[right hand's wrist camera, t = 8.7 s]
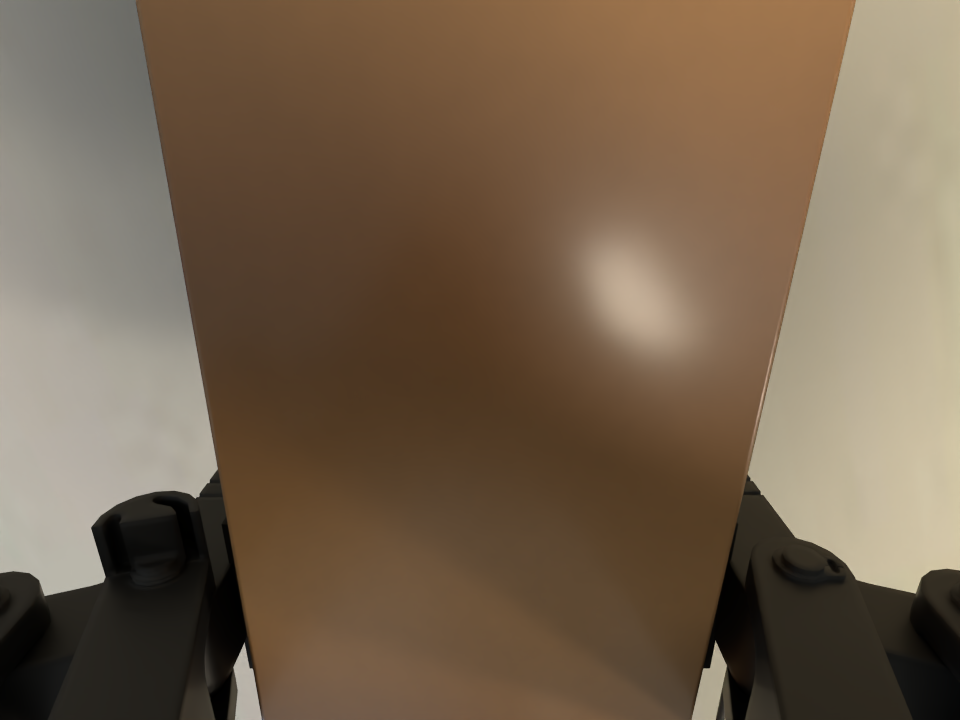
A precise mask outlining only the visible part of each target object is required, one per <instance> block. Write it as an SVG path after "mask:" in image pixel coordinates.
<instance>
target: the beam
mask: <svg viewBox="0 0 960 720" xmlns="http://www.w3.org/2000/svg"><path fill="white" fill-rule="evenodd" d="M855 2H856V0H136V5H137V11H138V17H139V22H140V28H141V34H142V39H143V45H144V51H145V56H146V62H147V68H148V74H149V79H150V85H151V91H152V96H153V102H154V108H155V113H156V119H157V125H158V130H159V136H160V142H161V147H162V153H163V159H164V164H165V170H166V176H167V182H168V187H169V193H170V199H171V204H172V210H173V216H174V221H175V227H176V233H177V238H178V244H179V250H180V255H181V261H182V267H183V273H184V278H185V284H186V290H187V295H188V301H189V307H190V312H191V318H192V324H193V329H194V335H195V341H196V346H197V352H198V358H199V363H200V369H201V375H202V381H203V386H204V392H205V398H206V403H207V409H208V415H209V420H210V426H211V432H212V437H213V443H214V449H215V454H216V460H217V466H218V472H219V477H220V483H221V489H222V494H223V500H224V506H225V511H226V517H227V523H228V528H229V534H230V540H231V545H232V551H233V557H234V563H235V568H236V574H237V580H238V585H239V591H240V597H241V602H242V608H243V614H244V619H245V625H246V631H247V636H248V642H249V648H250V653H251V659H252V665H253V671H254V676H255V682H256V688H257V693H258V699H259V705H260V710H261V716H262V720H691V719H692V715H693V710H694V706H695V701H696V697H697V693H698V688H699V684H700V680H701V675H702V671H703V666H704V662H705V658H706V653H707V649H708V645H709V640H710V636H711V631H712V627H713V623H714V618H715V614H716V610H717V605H718V601H719V596H720V592H721V588H722V583H723V579H724V575H725V570H726V566H727V562H728V557H729V553H730V548H731V544H732V540H733V535H734V531H735V527H736V522H737V518H738V513H739V509H740V505H741V500H742V496H743V492H744V487H745V483H746V478H747V474H748V470H749V465H750V461H751V457H752V452H753V448H754V443H755V439H756V435H757V430H758V426H759V422H760V417H761V413H762V408H763V404H764V400H765V395H766V391H767V387H768V382H769V378H770V374H771V369H772V365H773V360H774V356H775V352H776V347H777V343H778V339H779V334H780V330H781V325H782V321H783V317H784V312H785V308H786V304H787V299H788V295H789V290H790V286H791V282H792V277H793V273H794V269H795V264H796V260H797V255H798V251H799V247H800V242H801V238H802V234H803V229H804V225H805V220H806V216H807V212H808V207H809V203H810V199H811V194H812V190H813V185H814V181H815V177H816V172H817V168H818V164H819V159H820V155H821V151H822V146H823V142H824V137H825V133H826V129H827V124H828V120H829V116H830V111H831V107H832V102H833V98H834V94H835V89H836V85H837V81H838V76H839V72H840V67H841V63H842V59H843V54H844V50H845V46H846V41H847V37H848V32H849V28H850V24H851V19H852V15H853V11H854V6H855Z"/></svg>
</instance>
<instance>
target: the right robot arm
mask: <svg viewBox="0 0 960 720" xmlns="http://www.w3.org/2000/svg"><path fill="white" fill-rule="evenodd" d="M91 529H92V532H93V536H94V539H95V542H96V546H97V549H98V552H99V556H100V559H101V563H102V566H103V569H104V573H105V576H106V578H105V580H104V583H100V584H97V585H93V586H89V587H85V588H80V589H76V590H71V591H66V592H62V593H57V594H53V595H48V596H44V593H43V591H42V588H41V585H40V582H39V580H38V579H37V578H35V577H34V576H32V575H31V574H30V573H23V572H14V571H13V572H6V573H0V720H235V712H236V702H237V691H238V690H237V684H236V678H235V673H234V669H233V667H234V664H235V662H236V660H237V658H238V656H239V653H240V651H241V649H242V647H243V645H244V642H245V646H246V651H247V656H248V661H249V666H250V668H253V665H252V659H251V653H250V648H249V642H248V636H247V631H246V625H245V619H244V614H243V608H242V602H241V597H240V591H239V585H238V580H237V574H236V568H235V563H234V557H233V551H232V545H231V540H230V534H229V528H228V523H227V517H226V511H225V506H224V500H223V494H222V489H221V483H220V477H219V472H218V470H217V471H216V473H215V474H214V475H213V477H212V478H211V479H210V483H207V485H206V486H205V487H204V489H203V490H202V491H201V493H200V496H199V497H197V498H196V499H195V498H194V497H192V496H191V495H190V494H187V493H182V492H178V491H162V492H153V493H149V494H145V495H141V496H137V497H134V498H132V499H129V500H127V501H125V502H122V503H120V504H118V505H116V506H114V507H113V508H112V509H110V510H109V511H107V512H106V513H104V514H103V515H101V516H100V517H99V519H98V520H97V521H96V522H95V524H94V525H93V526H92V527H91ZM715 640H716V642H717V645H718V647H719V649H720V651H721V653H722V656H723V658H724V660H725V662H726V664H727V669H726V673H725V678H724V683H723V688H722V692H721V697H720V702H719V706H718V711H717V716H716V720H960V571H959V570H952V569H942V570H933V571H930V572H929V573H927V574H926V575H924V576H923V577H922V578H921V581H920V584H919V586H918V589H917V592H916V594H914V593H910V592H905V591H901V590H896V589H891V588H887V587H882V586H877V585H873V584H868V583H865V582H861V581H858V580H856V579H855V577H854V575H853V574H852V572H851V571H850V569H849V568H848V567H847V565H846V564H845V563H844V562H843V561H842V560H840V559H839V558H838V557H836V556H835V555H834V554H833V553H831V552H830V551H828V550H826V549H824V548H822V547H820V546H818V545H816V544H814V543H811V542H807V541H804V540H800V539H796V538H795V537H794V535H793V534H792V533H791V531H790V530H789V529H788V527H787V526H786V525H785V523H784V522H783V521H782V519H781V518H780V517H779V515H778V514H777V513H776V511H775V510H774V509H773V507H772V506H771V505H770V504H769V502H768V501H767V500H766V498H765V497H764V496H763V495H761V494H760V490H759V489H758V488H757V486H756V485H755V484H754V482H753V481H750V477H749V476H748V474H747V478H746V483H745V487H744V492H743V496H742V500H741V505H740V509H739V513H738V518H737V522H736V527H735V531H734V535H733V540H732V544H731V548H730V553H729V557H728V562H727V566H726V570H725V575H724V579H723V583H722V588H721V592H720V596H719V601H718V605H717V610H716V614H715V618H714V623H713V627H712V631H711V636H710V640H709V645H708V649H707V653H706V658H705V662H704V666H703V668H710V665H711V660H712V655H713V650H714V645H715Z"/></svg>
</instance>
